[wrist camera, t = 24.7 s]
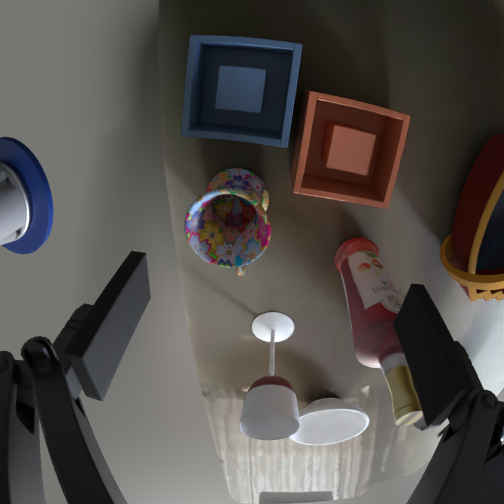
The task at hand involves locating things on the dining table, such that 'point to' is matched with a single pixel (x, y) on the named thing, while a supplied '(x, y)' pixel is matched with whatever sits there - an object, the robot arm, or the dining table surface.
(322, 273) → the dining table surface
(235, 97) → the slate block
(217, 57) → the slate bin
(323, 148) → the terracotta block
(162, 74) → the dining table surface
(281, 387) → the wineglass
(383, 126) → the terracotta bin
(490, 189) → the decorative basket
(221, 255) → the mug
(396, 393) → the liquor
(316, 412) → the bowl
